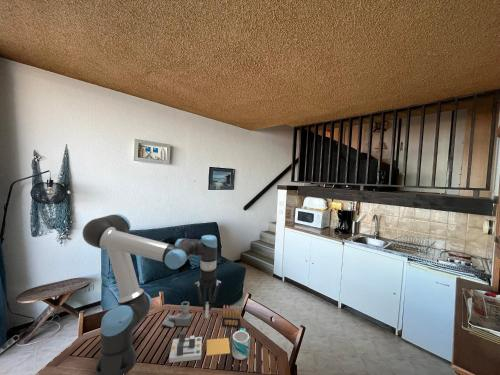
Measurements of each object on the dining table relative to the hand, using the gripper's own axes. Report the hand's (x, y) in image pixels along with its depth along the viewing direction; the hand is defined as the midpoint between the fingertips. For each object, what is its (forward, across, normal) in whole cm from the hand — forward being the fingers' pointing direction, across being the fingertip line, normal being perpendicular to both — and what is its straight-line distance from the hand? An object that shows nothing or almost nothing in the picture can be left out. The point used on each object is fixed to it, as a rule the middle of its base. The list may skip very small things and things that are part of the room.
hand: (206, 316), depth 108 cm
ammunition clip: (+17, +14, +16) cm, 27 cm away
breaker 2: (+14, -12, -4) cm, 19 cm away
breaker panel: (+16, -9, 0) cm, 19 cm away
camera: (+17, -16, +21) cm, 31 cm away
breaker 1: (+14, -12, +4) cm, 19 cm away
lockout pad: (+16, +6, 0) cm, 17 cm away
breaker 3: (+14, -7, 0) cm, 15 cm away
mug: (+17, +17, -2) cm, 24 cm away
